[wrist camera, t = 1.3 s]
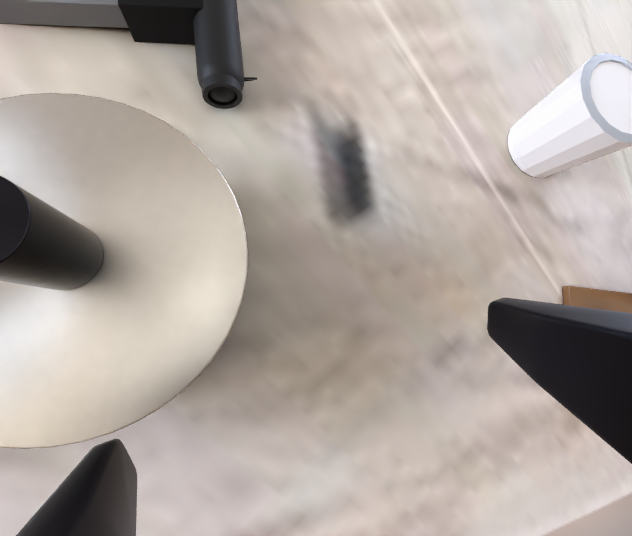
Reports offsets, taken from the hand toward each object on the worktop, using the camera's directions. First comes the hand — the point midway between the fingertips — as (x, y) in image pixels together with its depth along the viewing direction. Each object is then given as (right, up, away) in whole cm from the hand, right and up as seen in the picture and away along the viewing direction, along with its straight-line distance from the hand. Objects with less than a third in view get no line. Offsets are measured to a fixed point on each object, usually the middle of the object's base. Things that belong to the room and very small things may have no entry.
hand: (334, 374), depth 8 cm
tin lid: (-11, +3, +6) cm, 13 cm away
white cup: (+19, +13, +22) cm, 32 cm away
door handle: (-13, +23, +16) cm, 31 cm away
